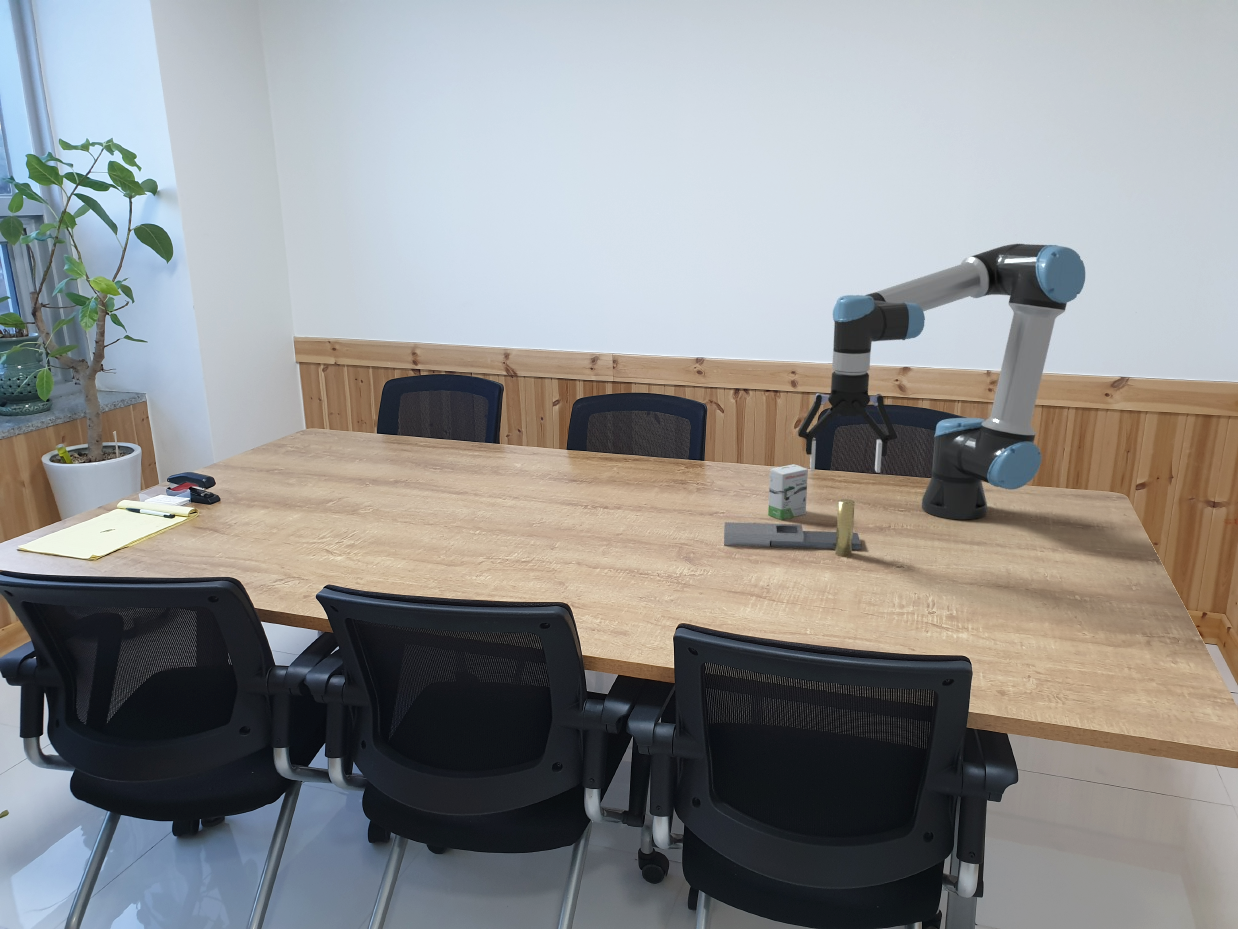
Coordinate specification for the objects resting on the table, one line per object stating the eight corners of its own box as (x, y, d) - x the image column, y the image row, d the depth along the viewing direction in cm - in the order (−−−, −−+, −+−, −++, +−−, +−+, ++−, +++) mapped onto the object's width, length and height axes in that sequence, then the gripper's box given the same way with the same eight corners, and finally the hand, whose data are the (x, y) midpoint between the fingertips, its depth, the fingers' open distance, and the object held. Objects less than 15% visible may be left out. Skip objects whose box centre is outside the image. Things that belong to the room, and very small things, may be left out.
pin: (850, 551, 200) (853, 499, 197) (852, 556, 197) (855, 504, 193) (834, 550, 200) (837, 498, 197) (836, 556, 197) (839, 503, 194)
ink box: (781, 520, 219) (783, 473, 216) (767, 515, 223) (768, 469, 220) (807, 513, 224) (809, 467, 221) (792, 508, 228) (794, 463, 225)
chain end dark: (856, 538, 207) (857, 532, 207) (860, 550, 200) (861, 543, 200) (770, 535, 210) (770, 529, 209) (771, 546, 203) (771, 540, 203)
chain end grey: (801, 536, 209) (801, 524, 208) (803, 548, 202) (803, 535, 201) (724, 534, 211) (724, 522, 210) (723, 545, 204) (724, 532, 203)
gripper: (909, 369, 190) (902, 466, 196) (788, 367, 193) (784, 463, 199) (916, 375, 183) (907, 476, 189) (790, 373, 186) (785, 473, 192)
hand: (844, 470), depth 194 cm, fingers open, 13 cm apart
